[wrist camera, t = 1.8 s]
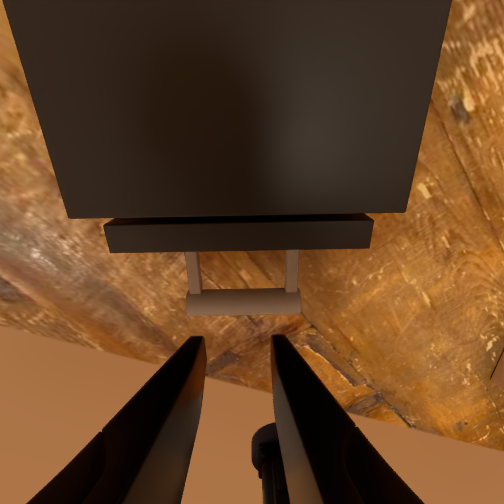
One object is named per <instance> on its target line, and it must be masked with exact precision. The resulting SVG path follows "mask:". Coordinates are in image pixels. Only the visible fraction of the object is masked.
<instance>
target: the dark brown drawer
mask: <svg viewBox="0 0 504 504" xmlns="http://www.w3.org/2000/svg"><path fill="white" fill-rule="evenodd" d="M373 225H374V220H373V219H372V218H370V217H369V216H367V215H366V214H364V213H357V214H303V215H249V216H195V217H140V218H114V219H113V220H111V221H109V222H108V223H106V224H104V225H103V227H104V231H105V235H106V239H107V243H108V247H109V251H110V253H148V252H185V260H186V268H187V275H188V283H189V290H188V292H187V295H186V313H187V315H188V316H225V315H280V314H300V313H301V293H300V290H299V288H297V283H298V266H299V250H311V249H365V248H370V242H371V236H372V230H373ZM257 250H286V258H285V285H284V287H285V288H261V289H207V290H202V289H203V287H202V277H201V268H200V258H199V252H203V251H257Z"/></svg>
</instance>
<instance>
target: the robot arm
mask: <svg viewBox="0 0 504 504" xmlns="http://www.w3.org/2000/svg"><path fill="white" fill-rule="evenodd" d="M206 364H207V355H206V346H205V338H204V337H203V336H191V337H189V338H188V339H187V340H186V341H185V342H184V343H183V345H182V346H181V347H180V348H179V349H178V350H177V351H176V352H175V353H174V354H173V355H172V356H171V357H170V358H169V359H168V360H167V361H166V362H165V363H164V365H163V366H162V367H161V368H160V369H159V370H158V371H157V372H156V373H155V374H154V375H153V376H152V377H151V378H150V379H149V380H148V381H147V382H146V383H145V385H144V386H143V387H142V388H141V389H140V390H139V391H138V392H137V393H136V394H135V395H134V396H133V397H132V398H131V399H130V400H129V401H128V402H127V403H126V405H125V406H124V407H123V408H122V409H121V410H120V411H119V412H118V413H117V414H116V415H115V416H114V417H113V418H112V419H111V420H110V421H109V422H108V424H106V426H105V427H104V428H103V429H102V432H99V433H98V434H97V435H96V436H95V437H94V438H93V439H92V440H91V441H90V442H89V443H88V444H87V445H86V447H84V448H83V449H82V450H81V451H80V452H79V453H78V454H77V455H76V456H75V458H74V459H73V460H72V461H71V462H70V463H69V464H68V465H67V466H66V467H65V468H64V469H63V470H62V471H60V472H59V473H58V474H57V475H56V476H55V477H54V478H53V479H52V480H51V481H50V482H49V483H48V484H47V485H46V486H45V487H44V488H43V489H42V490H40V491H39V492H38V493H37V494H36V495H35V496H34V497H33V498H32V499H31V500H30V501H29V502H28V503H26V504H181V499H182V495H183V491H184V486H185V481H186V477H187V473H188V468H189V464H190V459H191V455H192V451H193V446H194V442H195V437H196V433H197V429H198V424H199V419H200V414H201V407H202V399H203V390H204V381H205V373H206ZM271 373H272V389H273V404H274V413H275V420H276V426H277V432H278V437H279V442H275V443H259V444H258V477H259V478H260V479H262V491H263V504H424V503H423V501H422V500H421V499H420V498H419V497H418V496H417V495H416V494H415V493H414V492H413V491H412V490H411V489H410V488H409V487H408V485H407V484H406V483H405V482H404V481H403V480H402V479H401V478H400V477H399V476H398V474H397V473H396V472H395V471H394V470H393V469H392V468H391V467H390V466H389V465H388V463H387V462H386V461H385V460H384V459H383V457H382V456H381V455H380V454H379V453H378V451H377V450H376V449H375V448H374V447H373V445H372V444H371V443H370V442H369V441H368V439H367V438H366V437H365V435H364V434H363V433H362V432H361V430H360V429H359V428H358V427H355V426H356V425H355V423H354V422H353V420H352V419H351V418H350V417H349V415H348V414H347V413H346V412H345V410H344V409H343V408H342V407H341V405H340V404H339V403H338V402H337V400H336V399H335V398H334V396H333V395H332V394H331V393H330V391H329V390H328V389H327V388H326V386H325V385H324V384H323V383H322V381H321V380H320V379H319V378H318V376H317V375H316V374H315V372H314V371H313V370H312V369H311V367H310V366H309V365H308V364H307V362H306V361H305V360H304V359H303V357H302V356H301V355H300V354H299V352H298V351H297V350H296V349H295V347H294V346H293V345H292V343H291V342H290V341H289V340H288V338H287V337H286V336H285V335H284V334H273V335H271Z"/></svg>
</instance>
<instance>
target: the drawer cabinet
mask: <svg viewBox="0 0 504 504" xmlns="http://www.w3.org/2000/svg"><path fill="white" fill-rule="evenodd" d="M2 1H3V4H4V7H5V10H6V14H7V17H8V20H9V24H10V27H11V30H12V34H13V37H14V40H15V44H16V47H17V50H18V53H19V57H20V60H21V63H22V67H23V70H24V73H25V77H26V80H27V83H28V86H29V90H30V93H31V96H32V100H33V103H34V106H35V110H36V113H37V116H38V119H39V123H40V126H41V129H42V133H43V136H44V139H45V143H46V146H47V149H48V152H49V156H50V159H51V162H52V166H53V169H54V172H55V176H56V179H57V182H58V185H59V189H60V192H61V195H62V199H63V202H64V205H65V209H66V212H67V215H68V218H69V219H86V218H140V217H195V216H249V215H303V214H357V213H404V212H406V208H407V204H408V199H409V194H410V190H411V185H412V181H413V176H414V172H415V167H416V162H417V158H418V153H419V149H420V144H421V140H422V135H423V130H424V126H425V121H426V117H427V112H428V108H429V103H430V99H431V94H432V89H433V85H434V80H435V76H436V71H437V67H438V62H439V57H440V53H441V48H442V44H443V39H444V35H445V30H446V25H447V21H448V16H449V12H450V7H451V3H452V0H2Z"/></svg>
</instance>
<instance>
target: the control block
mask: <svg viewBox="0 0 504 504" xmlns="http://www.w3.org/2000/svg"><path fill="white" fill-rule="evenodd" d="M491 380H492V381H493V382H494V383H495V384H496V385H497V386H498V387H499V388H500V389H501V390H502V391H503V392H504V352H503V354H502V356H501V358H500V360H499V362H498V364H497V367H496V369H495V371H494V373H493V375H492V377H491Z"/></svg>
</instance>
